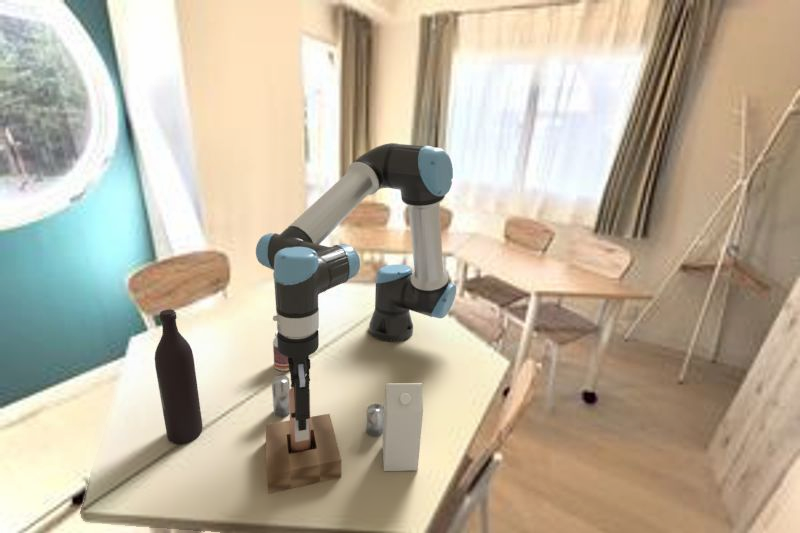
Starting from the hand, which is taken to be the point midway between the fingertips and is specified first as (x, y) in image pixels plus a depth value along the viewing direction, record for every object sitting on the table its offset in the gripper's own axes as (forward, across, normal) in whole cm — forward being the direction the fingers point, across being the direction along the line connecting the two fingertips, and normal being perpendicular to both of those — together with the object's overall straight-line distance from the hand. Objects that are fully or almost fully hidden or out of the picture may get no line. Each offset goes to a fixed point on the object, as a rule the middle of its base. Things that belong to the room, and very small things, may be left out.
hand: (300, 431), depth 84 cm
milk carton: (+7, +5, +20) cm, 22 cm away
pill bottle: (+7, -36, -1) cm, 37 cm away
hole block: (+7, 0, 0) cm, 7 cm away
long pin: (+5, 0, 0) cm, 5 cm away
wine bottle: (+7, -14, -24) cm, 29 cm away
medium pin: (+7, -16, -3) cm, 18 cm away
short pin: (+7, -4, +17) cm, 19 cm away
